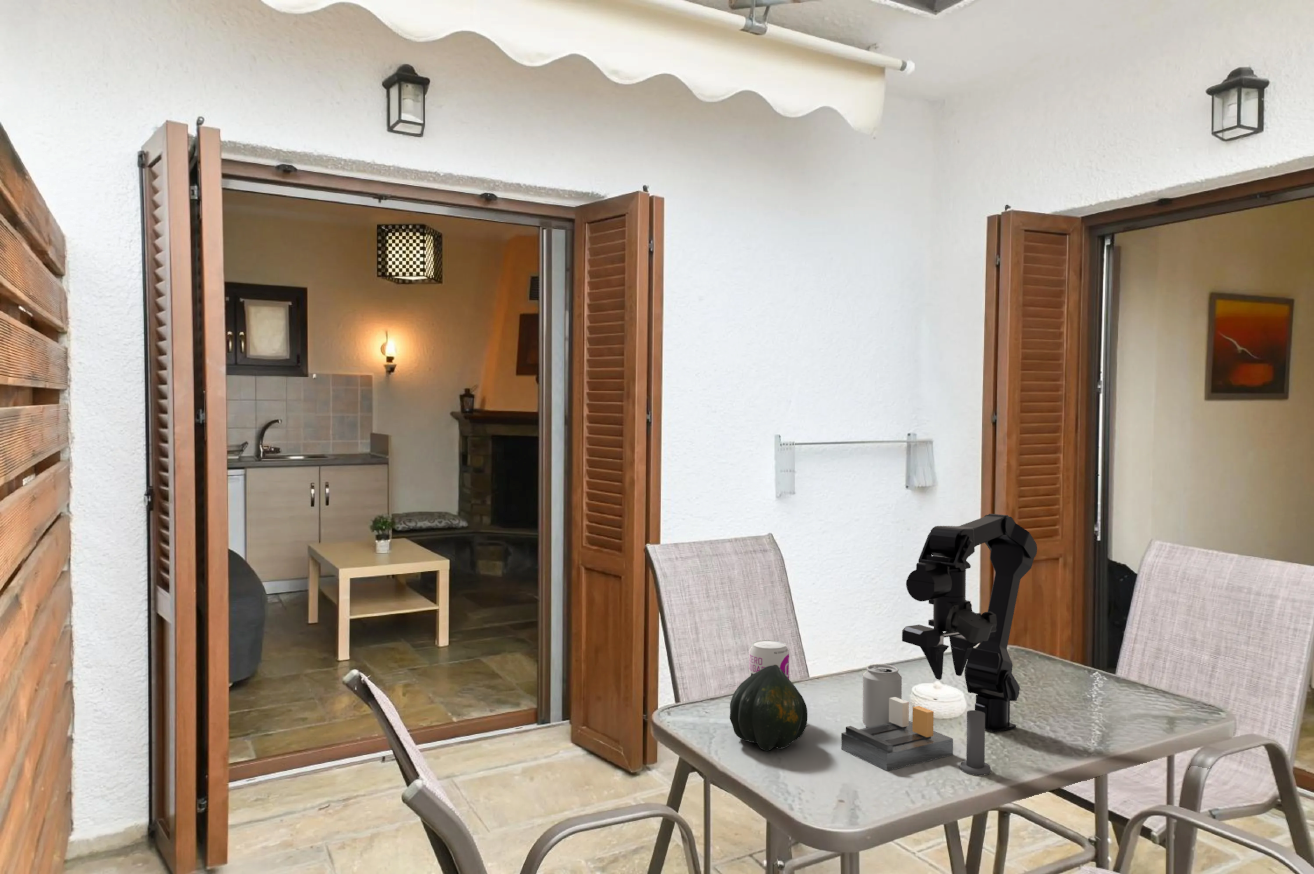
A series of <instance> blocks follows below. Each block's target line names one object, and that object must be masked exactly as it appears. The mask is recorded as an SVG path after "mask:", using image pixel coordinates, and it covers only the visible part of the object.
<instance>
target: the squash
mask: <svg viewBox="0 0 1314 874" xmlns="http://www.w3.org/2000/svg"><path fill="white" fill-rule="evenodd" d="M729 720H730V723H731V725H732V729H733V733H734V734H735V735H736V737H738V738H739V739H740V740H743V741H746V742H750V743H756V744H757V745H758V746H759V748H760V749H761V750H763V751H767V752H768V751H771V750H772V749H774V747H775V748H777V749H785V748H787V747H789V746H791V744H792V743H793V742H795V741H797V740H798V739H800V738H801V737H802V736H803V734H804V732H805V730H806V728H807V725H808V707H807V704H806V702H805V700H804V698H803V696H802V694H801V693H800V691H799V690H798V689H797V687H796V686H795V684H794V683H793V682H792V681H791V680H790V678H789V679H788V677H787V676H786V675H785V674H784V672H783V671H782V670H781V669H780V668H779V667H778V665H772V666H767V667H765V668H763V669H761V670H760V671H758V672H756V673H754V674H753V675H751V676H750V677H749V676H748V677H747V678H746V679H744V681H743V682H741V683H740V684H739V685H738V686H737V688H736V690H735V691H734V692H733V694H732V697H731V699H730V702H729Z"/></svg>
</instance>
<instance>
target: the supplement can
mask: <svg viewBox="0 0 1314 874" xmlns="http://www.w3.org/2000/svg"><path fill="white" fill-rule="evenodd" d="M748 651H749V652H748V669H749V670H748V677H750V676H751V675H753V674H754V673H756V672H758V671H760V670H761V669H763V668H765V667H767V666H772V665H778V667H779V668H780V669H781V670H782V671H783V672H784V674H785V675H786V676H787V677H788V679H789V680H790V651H789V648H788V647H787V643H785V642H783V641H779V640H775V639H762V640H761V639H760V640H755V641H753V642H752V643H751V647H750V648H749V650H748Z"/></svg>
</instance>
